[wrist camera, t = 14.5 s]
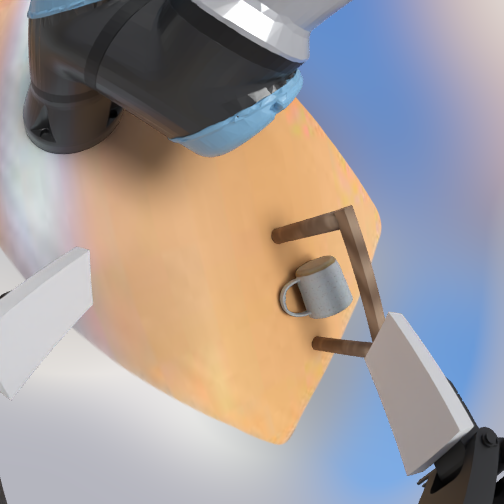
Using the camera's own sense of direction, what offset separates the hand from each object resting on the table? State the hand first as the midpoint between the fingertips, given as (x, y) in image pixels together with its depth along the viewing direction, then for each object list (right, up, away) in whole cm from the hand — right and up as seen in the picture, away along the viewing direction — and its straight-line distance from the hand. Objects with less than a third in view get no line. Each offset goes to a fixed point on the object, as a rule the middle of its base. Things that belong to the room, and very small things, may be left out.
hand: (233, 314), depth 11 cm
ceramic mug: (+9, -4, +34) cm, 36 cm away
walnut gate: (+8, -4, +33) cm, 35 cm away
